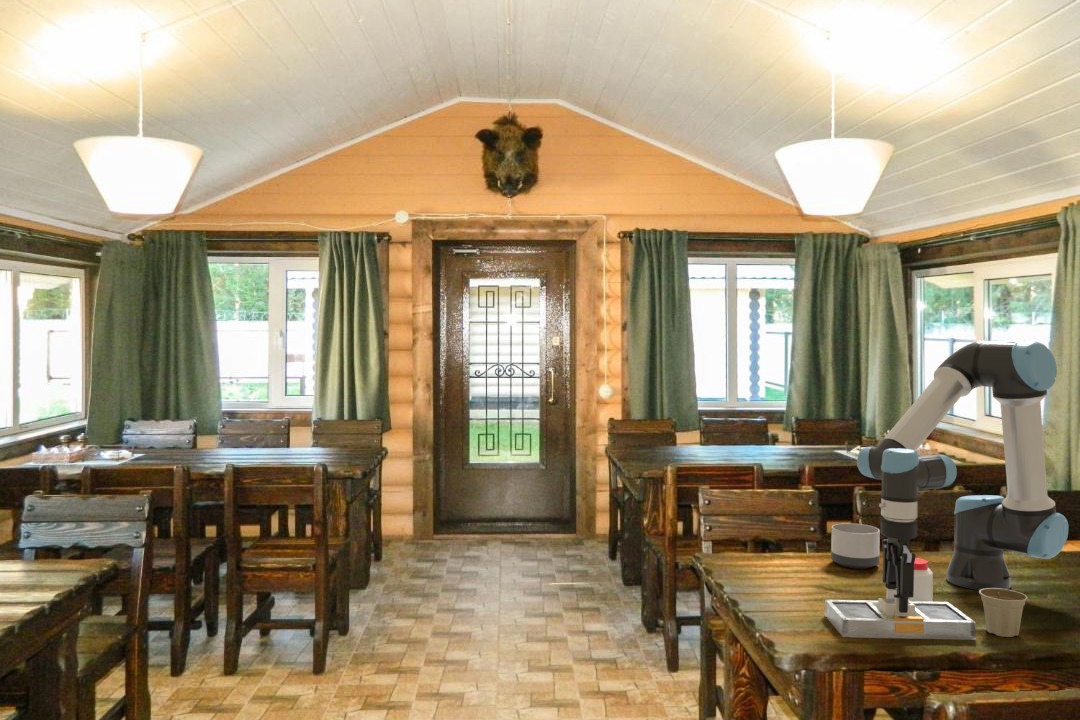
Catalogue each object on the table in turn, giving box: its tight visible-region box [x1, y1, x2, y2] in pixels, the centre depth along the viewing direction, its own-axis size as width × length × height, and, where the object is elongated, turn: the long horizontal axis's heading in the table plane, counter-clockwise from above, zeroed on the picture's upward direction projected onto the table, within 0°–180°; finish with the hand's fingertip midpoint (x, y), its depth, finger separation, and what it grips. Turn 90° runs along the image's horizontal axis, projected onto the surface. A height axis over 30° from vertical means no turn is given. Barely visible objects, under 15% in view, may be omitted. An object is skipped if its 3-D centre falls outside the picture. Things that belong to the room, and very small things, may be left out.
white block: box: [877, 597, 915, 619], centre depth 190 cm, size 6×4×5 cm
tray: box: [824, 599, 977, 641], centre depth 190 cm, size 28×14×4 cm, turn 87°
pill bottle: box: [909, 557, 934, 602], centre depth 206 cm, size 8×8×11 cm
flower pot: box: [978, 588, 1028, 638], centre depth 187 cm, size 9×9×9 cm
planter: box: [830, 522, 881, 570], centre depth 242 cm, size 13×13×10 cm
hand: (896, 621), depth 190 cm, fingers closed on white block, 4 cm apart
